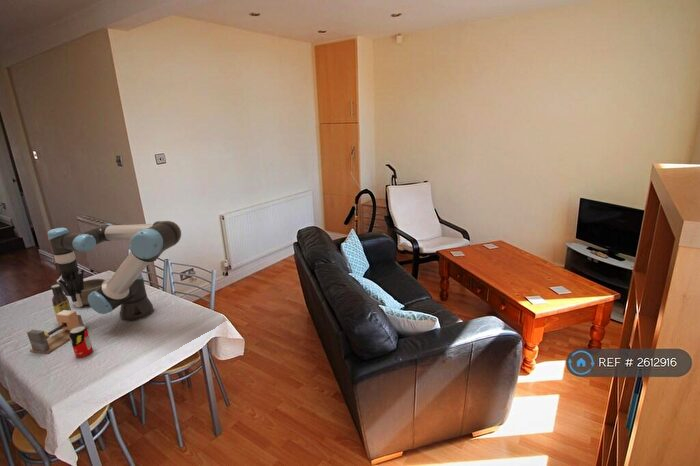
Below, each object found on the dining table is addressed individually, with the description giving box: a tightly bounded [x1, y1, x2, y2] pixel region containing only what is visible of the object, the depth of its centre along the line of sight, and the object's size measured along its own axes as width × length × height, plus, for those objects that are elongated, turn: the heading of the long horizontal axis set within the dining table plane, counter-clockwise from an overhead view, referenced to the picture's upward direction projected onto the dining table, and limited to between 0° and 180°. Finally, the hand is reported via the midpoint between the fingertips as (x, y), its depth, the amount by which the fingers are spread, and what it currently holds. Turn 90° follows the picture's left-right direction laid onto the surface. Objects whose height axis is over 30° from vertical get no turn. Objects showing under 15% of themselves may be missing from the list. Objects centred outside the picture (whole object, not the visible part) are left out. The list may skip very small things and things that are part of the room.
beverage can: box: [69, 325, 93, 358], centre depth 155 cm, size 6×6×12 cm
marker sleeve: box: [55, 310, 80, 330], centre depth 171 cm, size 7×4×8 cm, turn 78°
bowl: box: [81, 278, 106, 306], centre depth 201 cm, size 17×18×10 cm
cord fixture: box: [26, 314, 89, 355], centre depth 166 cm, size 20×10×10 cm, turn 168°
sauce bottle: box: [50, 283, 72, 316], centre depth 179 cm, size 6×6×20 cm
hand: (78, 306), depth 176 cm, fingers closed
